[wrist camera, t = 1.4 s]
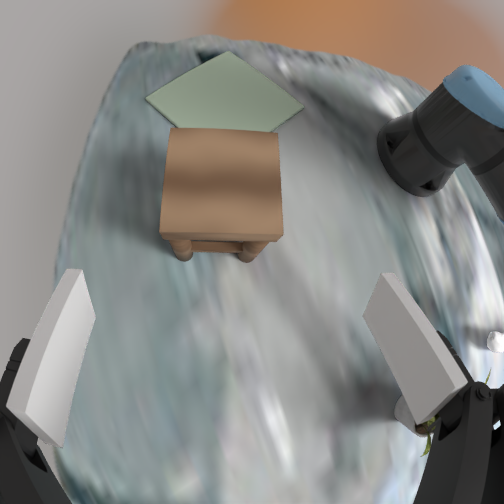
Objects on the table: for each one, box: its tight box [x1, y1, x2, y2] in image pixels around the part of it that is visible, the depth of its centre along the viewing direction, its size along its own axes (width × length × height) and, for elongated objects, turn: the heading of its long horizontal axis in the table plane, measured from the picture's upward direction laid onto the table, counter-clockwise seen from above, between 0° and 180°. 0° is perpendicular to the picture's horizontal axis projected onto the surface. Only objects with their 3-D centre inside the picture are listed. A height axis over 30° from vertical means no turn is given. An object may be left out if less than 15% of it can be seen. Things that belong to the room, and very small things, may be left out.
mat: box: [146, 51, 304, 132], centre depth 41 cm, size 18×18×1 cm
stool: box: [159, 128, 283, 263], centre depth 31 cm, size 10×10×14 cm
